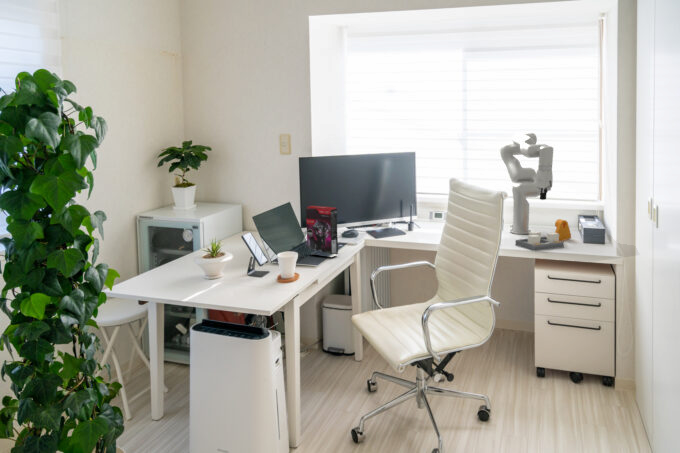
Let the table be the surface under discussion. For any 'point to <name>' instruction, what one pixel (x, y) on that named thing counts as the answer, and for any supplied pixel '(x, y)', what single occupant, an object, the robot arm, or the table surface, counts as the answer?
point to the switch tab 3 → (552, 237)
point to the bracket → (562, 229)
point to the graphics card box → (322, 229)
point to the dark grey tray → (543, 244)
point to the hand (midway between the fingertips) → (542, 199)
